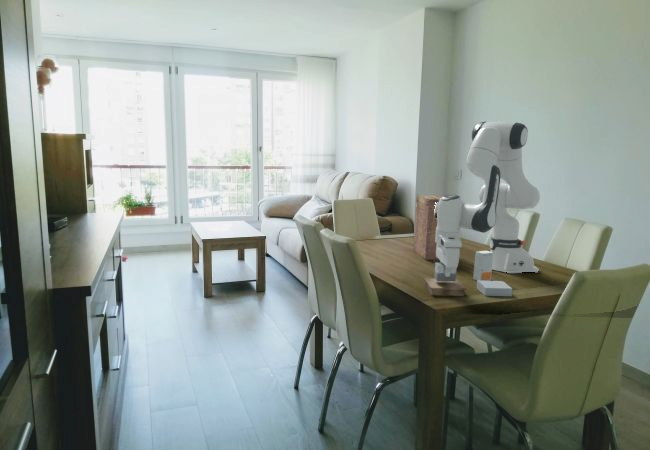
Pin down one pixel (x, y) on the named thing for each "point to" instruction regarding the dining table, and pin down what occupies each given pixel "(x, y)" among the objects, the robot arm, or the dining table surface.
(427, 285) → the tan flat square slab
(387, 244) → the dining table surface
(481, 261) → the skincare box
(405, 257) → the dining table surface
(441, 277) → the block
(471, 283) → the dining table surface
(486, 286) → the grey stand
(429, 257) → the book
